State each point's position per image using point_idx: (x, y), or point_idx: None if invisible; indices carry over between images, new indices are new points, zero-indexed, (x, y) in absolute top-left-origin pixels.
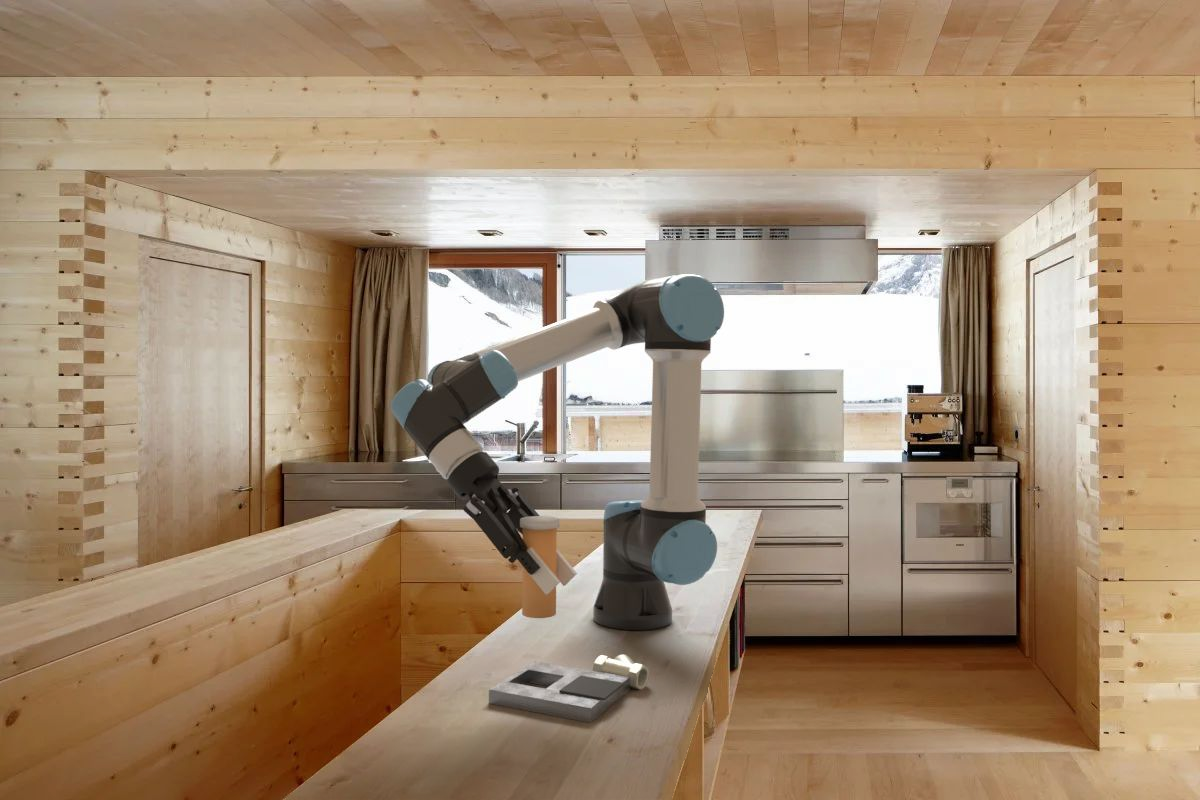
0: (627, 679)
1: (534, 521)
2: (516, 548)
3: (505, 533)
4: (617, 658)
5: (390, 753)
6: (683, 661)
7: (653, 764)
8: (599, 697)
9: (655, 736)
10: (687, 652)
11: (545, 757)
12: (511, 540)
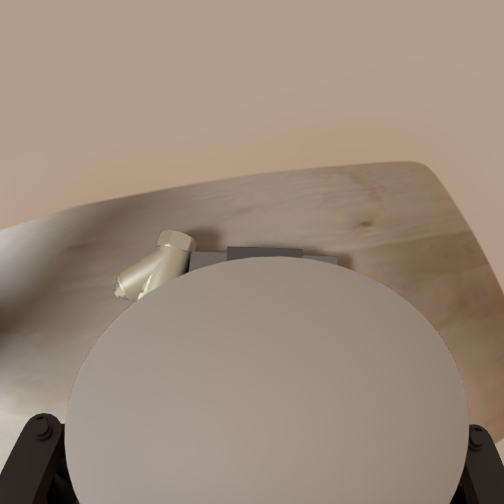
0: (199, 252)
1: (416, 453)
2: (470, 427)
3: (502, 500)
4: (132, 288)
5: (487, 413)
6: (68, 230)
7: (389, 171)
8: (301, 257)
9: (330, 184)
10: (38, 237)
11: (435, 269)
12: (486, 462)
